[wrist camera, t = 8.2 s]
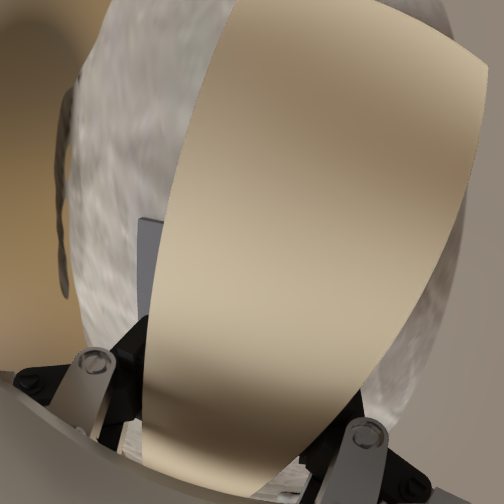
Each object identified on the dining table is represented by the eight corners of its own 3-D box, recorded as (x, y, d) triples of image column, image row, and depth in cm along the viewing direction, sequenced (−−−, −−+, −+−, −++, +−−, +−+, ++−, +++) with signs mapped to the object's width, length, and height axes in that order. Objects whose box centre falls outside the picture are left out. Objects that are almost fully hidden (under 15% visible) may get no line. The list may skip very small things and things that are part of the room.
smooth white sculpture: (277, 490, 54) (279, 490, 51) (305, 493, 52) (308, 492, 49) (274, 503, 50) (276, 503, 47) (303, 505, 49) (305, 505, 46)
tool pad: (142, 217, 33) (138, 218, 32) (207, 231, 32) (205, 233, 31) (145, 367, 41) (142, 370, 40) (193, 384, 40) (191, 388, 39)
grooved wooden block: (280, 69, 8) (250, -28, 3) (395, 111, 8) (488, 66, 2) (178, 419, 15) (144, 488, 10) (242, 442, 15) (221, 516, 9)
